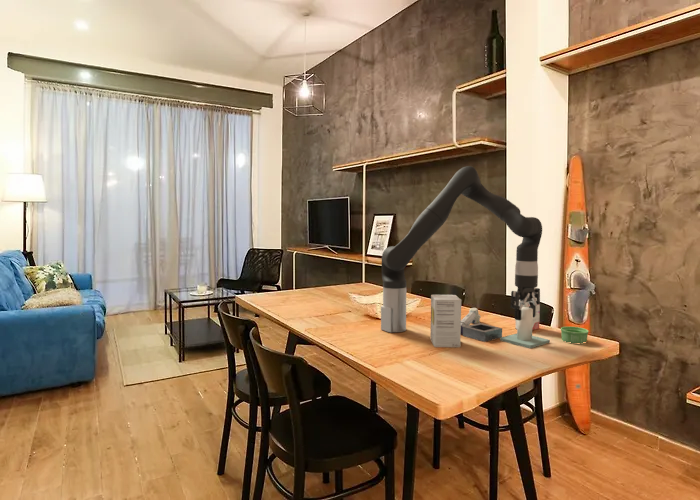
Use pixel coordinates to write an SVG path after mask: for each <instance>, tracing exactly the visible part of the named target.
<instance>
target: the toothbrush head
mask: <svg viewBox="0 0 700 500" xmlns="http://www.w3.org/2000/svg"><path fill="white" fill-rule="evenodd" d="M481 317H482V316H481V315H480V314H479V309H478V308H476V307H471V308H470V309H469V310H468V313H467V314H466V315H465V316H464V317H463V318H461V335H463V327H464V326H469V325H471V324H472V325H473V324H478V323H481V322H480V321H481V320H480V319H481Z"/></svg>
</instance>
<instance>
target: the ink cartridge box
mask: <svg viewBox="0 0 700 500" xmlns="http://www.w3.org/2000/svg"><path fill="white" fill-rule="evenodd" d="M519 301H520V300H519ZM536 301H537V298H536ZM519 305H520V304H519ZM540 305H541V303H540V304H538V305H537V307H536V314H535V317H533V324H532V331H533V330H538V329H540V311H541V310H540V309H541V306H540ZM529 306H530V305H529V303H528V302H526V303H525V305H523V307H528V308H529ZM517 323H518V320H515V329H516V330H517Z"/></svg>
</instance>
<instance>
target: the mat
mask: <svg viewBox="0 0 700 500" xmlns="http://www.w3.org/2000/svg"><path fill="white" fill-rule="evenodd" d="M499 341H501V342H505V343H509V344H511V345H516V346H520V347H523V348H525V349H526V348H527V349H533V348H536V346H537V347H539V345H540V346H542V345H547V344H549V342H551V341H550V339H547V338H545V337H539V336H536V335H532V340H530V341H524V340H519V339H517V332H516V333H513V334H509V335H505V336H502V337H501V338H499ZM546 343H547V344H546Z"/></svg>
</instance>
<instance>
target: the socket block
mask: <svg viewBox="0 0 700 500" xmlns="http://www.w3.org/2000/svg"><path fill="white" fill-rule="evenodd" d="M462 336H463V337H466V338H469V339H471V340H472V339H473V340H476V341H480V342H484V343H487V342H491V341H494V340H497V339H500V338H501V337H503V327H499V326H495V325H491V324H488V323H487V324H486V323H483V322H482V323H481V322H479V323H477V324H473V323H472V324H470V325H469V326H464V327H463V334H462Z"/></svg>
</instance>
